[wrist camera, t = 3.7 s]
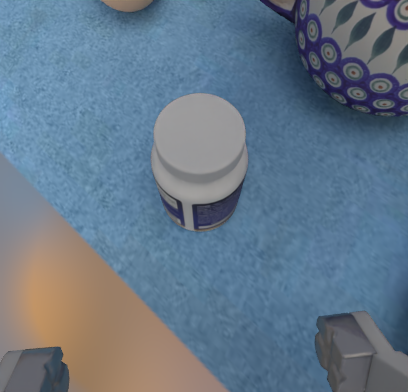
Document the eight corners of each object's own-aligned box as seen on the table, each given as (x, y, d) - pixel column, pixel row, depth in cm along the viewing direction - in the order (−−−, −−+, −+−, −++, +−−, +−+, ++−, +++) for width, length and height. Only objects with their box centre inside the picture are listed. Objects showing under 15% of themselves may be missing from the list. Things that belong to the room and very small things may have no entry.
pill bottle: (242, 169, 28) (264, 92, 18) (230, 239, 26) (248, 194, 16) (171, 157, 28) (156, 75, 19) (154, 225, 26) (129, 173, 17)
